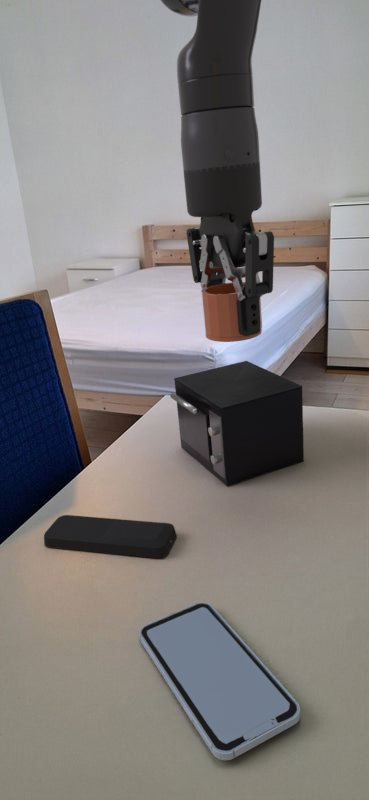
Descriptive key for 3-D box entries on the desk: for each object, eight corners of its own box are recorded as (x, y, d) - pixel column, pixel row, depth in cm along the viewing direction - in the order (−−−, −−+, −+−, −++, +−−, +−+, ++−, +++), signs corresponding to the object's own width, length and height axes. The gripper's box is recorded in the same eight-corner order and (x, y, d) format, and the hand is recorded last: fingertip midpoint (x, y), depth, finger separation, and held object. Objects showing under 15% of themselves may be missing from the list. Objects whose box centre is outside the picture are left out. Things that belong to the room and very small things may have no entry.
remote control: (42, 550, 68) (165, 559, 64) (38, 537, 68) (163, 545, 63) (62, 526, 73) (179, 533, 68) (59, 514, 72) (177, 519, 67)
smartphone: (206, 598, 56) (306, 711, 43) (207, 607, 57) (306, 721, 44) (134, 629, 53) (218, 759, 41) (136, 637, 54) (219, 769, 41)
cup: (242, 323, 69) (240, 279, 67) (273, 333, 63) (270, 286, 62) (196, 334, 66) (191, 289, 64) (223, 345, 61) (219, 297, 59)
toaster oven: (250, 427, 93) (246, 360, 89) (303, 461, 81) (302, 386, 77) (171, 450, 88) (163, 380, 84) (216, 490, 76) (209, 411, 72)
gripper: (296, 155, 54) (301, 334, 60) (218, 162, 66) (229, 310, 72) (224, 163, 51) (237, 350, 57) (156, 169, 63) (173, 323, 69)
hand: (233, 327), depth 65 cm, fingers closed on cup, 6 cm apart
